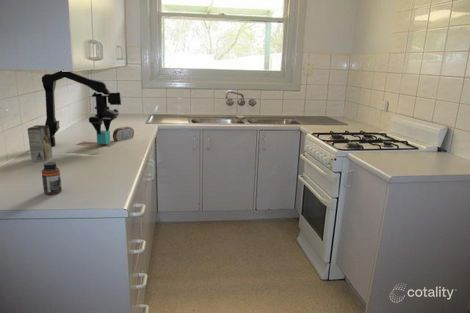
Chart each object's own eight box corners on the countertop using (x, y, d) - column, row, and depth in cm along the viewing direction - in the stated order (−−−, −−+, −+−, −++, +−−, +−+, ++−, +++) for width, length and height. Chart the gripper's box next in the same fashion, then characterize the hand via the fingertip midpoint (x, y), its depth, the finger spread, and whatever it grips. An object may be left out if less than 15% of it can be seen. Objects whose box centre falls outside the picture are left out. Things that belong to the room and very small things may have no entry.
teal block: (106, 144, 201) (105, 132, 200) (97, 143, 202) (96, 132, 200) (110, 142, 206) (109, 130, 205) (101, 141, 207) (101, 130, 205)
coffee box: (39, 156, 181) (36, 124, 177) (52, 156, 182) (49, 125, 178) (30, 161, 172) (26, 128, 168) (44, 161, 173) (41, 128, 169)
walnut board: (108, 149, 200) (108, 147, 199) (75, 146, 202) (74, 144, 202) (116, 145, 208) (116, 143, 208) (83, 143, 211) (83, 141, 211)
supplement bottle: (43, 191, 135) (40, 161, 132) (60, 188, 138) (58, 160, 135) (44, 196, 130) (41, 166, 128) (62, 193, 133) (59, 164, 130)
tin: (131, 138, 227) (130, 125, 225) (135, 139, 226) (134, 126, 224) (112, 142, 215) (111, 128, 213) (116, 143, 213) (115, 129, 211)
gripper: (107, 107, 189) (109, 137, 193) (123, 103, 206) (124, 130, 210) (87, 106, 190) (89, 135, 194) (104, 102, 208) (106, 129, 212)
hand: (103, 132), depth 203 cm, fingers open, 9 cm apart
